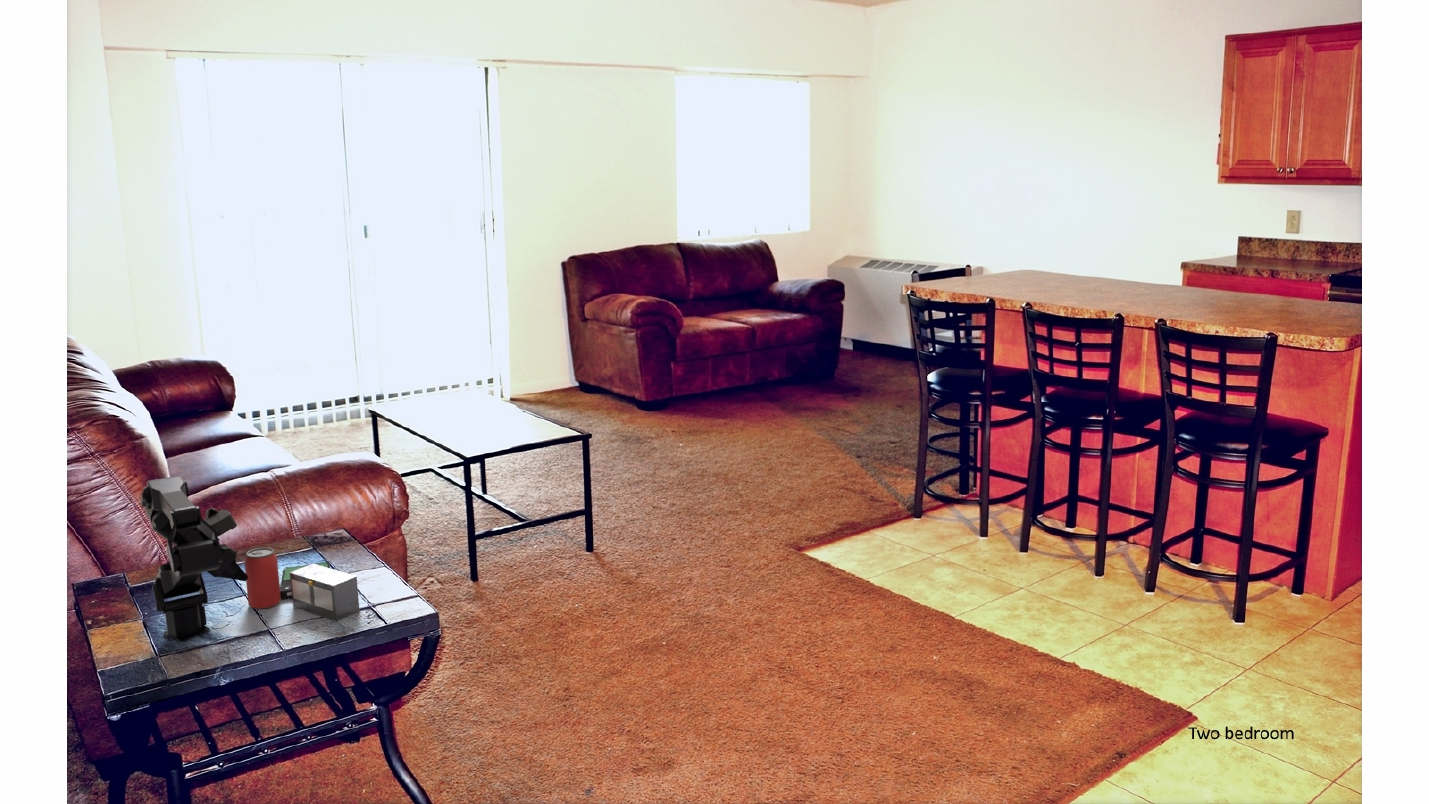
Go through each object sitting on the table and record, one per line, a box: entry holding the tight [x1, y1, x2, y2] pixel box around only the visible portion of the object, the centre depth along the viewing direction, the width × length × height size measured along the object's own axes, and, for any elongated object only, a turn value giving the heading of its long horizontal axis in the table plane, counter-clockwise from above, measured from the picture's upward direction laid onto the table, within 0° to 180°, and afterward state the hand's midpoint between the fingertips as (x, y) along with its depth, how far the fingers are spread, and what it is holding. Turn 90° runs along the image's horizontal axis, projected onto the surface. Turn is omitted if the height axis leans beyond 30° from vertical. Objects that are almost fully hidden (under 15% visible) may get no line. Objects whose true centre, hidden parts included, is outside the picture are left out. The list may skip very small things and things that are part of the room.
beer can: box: [244, 547, 282, 610], centre depth 231 cm, size 7×7×12 cm
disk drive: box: [280, 561, 331, 601], centre depth 242 cm, size 10×3×15 cm
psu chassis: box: [290, 563, 361, 622], centre depth 228 cm, size 6×14×8 cm, turn 58°
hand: (239, 573), depth 227 cm, fingers open, 9 cm apart
